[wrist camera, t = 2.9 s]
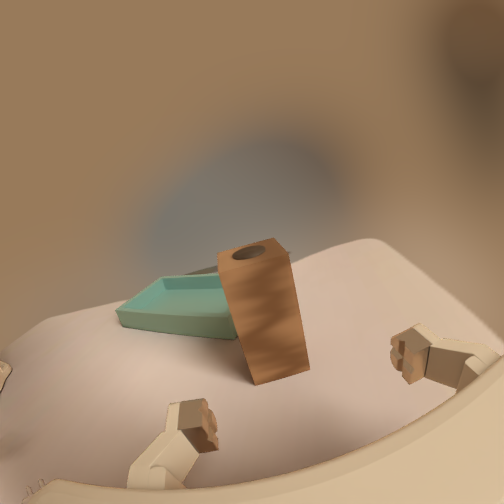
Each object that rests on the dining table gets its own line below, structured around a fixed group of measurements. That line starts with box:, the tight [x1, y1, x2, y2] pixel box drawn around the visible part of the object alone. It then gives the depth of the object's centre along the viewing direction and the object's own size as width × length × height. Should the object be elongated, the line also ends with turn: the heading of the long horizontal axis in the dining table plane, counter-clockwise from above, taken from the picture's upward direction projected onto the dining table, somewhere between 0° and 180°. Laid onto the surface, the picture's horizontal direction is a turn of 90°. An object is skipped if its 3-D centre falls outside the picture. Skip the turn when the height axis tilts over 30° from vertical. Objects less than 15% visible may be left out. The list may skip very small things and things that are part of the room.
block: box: [217, 238, 310, 386], centre depth 23 cm, size 5×5×11 cm
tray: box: [115, 273, 238, 340], centre depth 39 cm, size 20×12×3 cm, turn 68°
